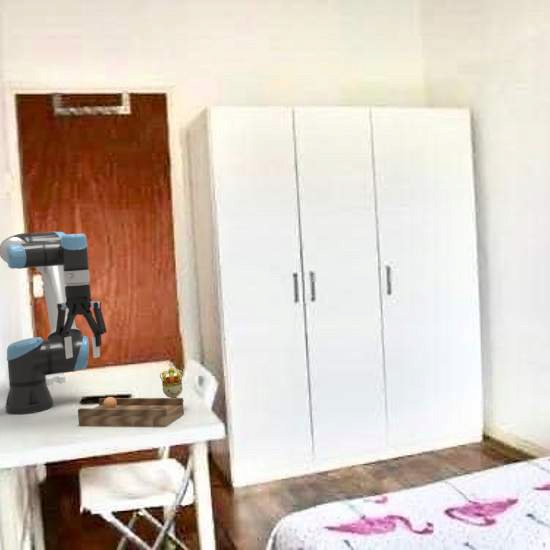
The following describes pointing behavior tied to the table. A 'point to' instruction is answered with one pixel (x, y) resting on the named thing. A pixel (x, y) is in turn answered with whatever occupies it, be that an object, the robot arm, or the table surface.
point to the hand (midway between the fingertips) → (83, 357)
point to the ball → (110, 402)
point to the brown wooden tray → (133, 412)
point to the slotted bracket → (55, 378)
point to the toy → (172, 383)
